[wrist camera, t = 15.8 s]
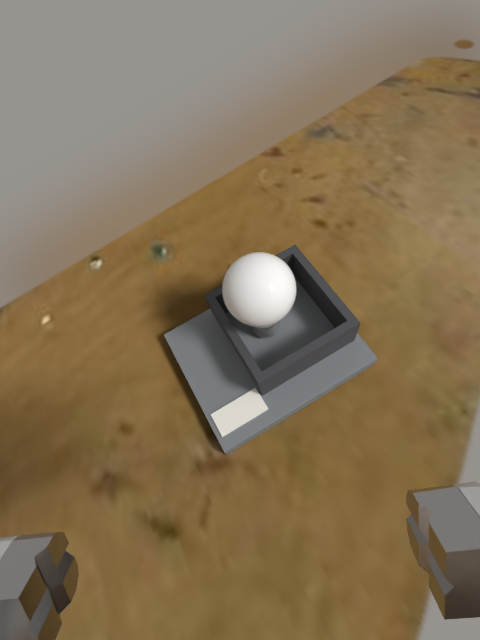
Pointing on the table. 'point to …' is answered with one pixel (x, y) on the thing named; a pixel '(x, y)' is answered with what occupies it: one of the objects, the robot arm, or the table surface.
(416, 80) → the table surface
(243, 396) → the socket board
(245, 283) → the lightbulb
